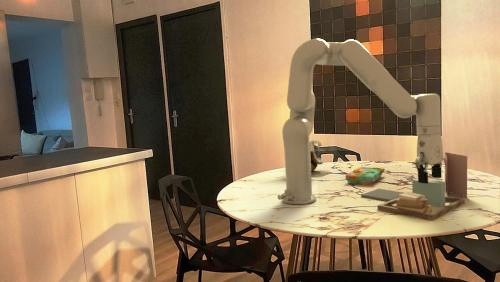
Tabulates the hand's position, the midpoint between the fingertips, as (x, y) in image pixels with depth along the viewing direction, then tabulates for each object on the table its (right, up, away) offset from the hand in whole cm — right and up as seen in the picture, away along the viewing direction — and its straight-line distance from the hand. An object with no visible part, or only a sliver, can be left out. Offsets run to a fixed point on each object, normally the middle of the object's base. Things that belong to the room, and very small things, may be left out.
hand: (430, 180), depth 141 cm
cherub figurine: (-32, -3, +63) cm, 70 cm away
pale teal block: (0, -8, +1) cm, 8 cm away
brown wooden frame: (-4, -9, -2) cm, 10 cm away
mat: (-11, -7, +14) cm, 19 cm away
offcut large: (-9, -10, -6) cm, 15 cm away
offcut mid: (-9, -8, -7) cm, 13 cm away
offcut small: (-9, -6, -7) cm, 13 cm away
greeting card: (+13, -7, +10) cm, 18 cm away
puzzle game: (-10, -4, +43) cm, 44 cm away
